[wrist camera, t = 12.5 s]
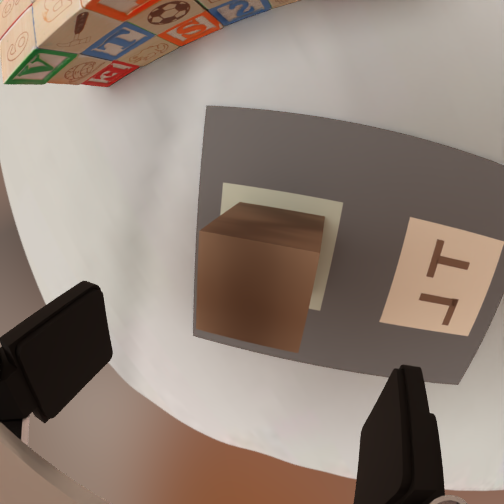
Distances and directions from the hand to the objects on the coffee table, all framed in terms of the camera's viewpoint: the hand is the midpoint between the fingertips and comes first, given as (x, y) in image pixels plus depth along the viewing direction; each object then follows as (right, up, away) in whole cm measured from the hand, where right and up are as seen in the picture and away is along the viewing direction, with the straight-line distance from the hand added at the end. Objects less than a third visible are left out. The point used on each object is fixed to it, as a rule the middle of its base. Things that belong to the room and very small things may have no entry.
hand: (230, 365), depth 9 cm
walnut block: (+2, +4, +10) cm, 11 cm away
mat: (+7, +3, +9) cm, 12 cm away
